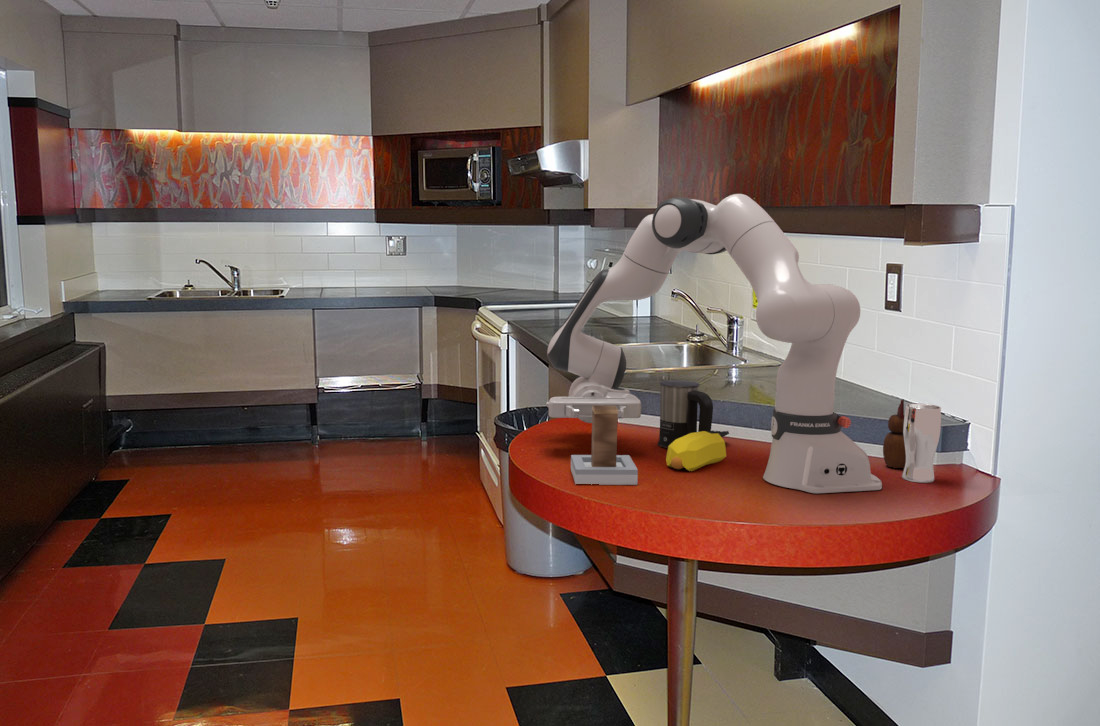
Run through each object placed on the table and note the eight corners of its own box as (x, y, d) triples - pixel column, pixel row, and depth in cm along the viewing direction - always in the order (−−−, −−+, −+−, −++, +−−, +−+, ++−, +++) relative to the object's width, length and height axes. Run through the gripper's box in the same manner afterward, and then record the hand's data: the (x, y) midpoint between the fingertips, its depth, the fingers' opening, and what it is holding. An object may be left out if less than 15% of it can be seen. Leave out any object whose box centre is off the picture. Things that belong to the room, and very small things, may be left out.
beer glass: (937, 477, 188) (942, 405, 186) (936, 485, 181) (941, 410, 179) (900, 473, 190) (905, 402, 188) (898, 480, 184) (903, 407, 182)
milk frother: (650, 446, 211) (652, 383, 209) (679, 435, 224) (681, 375, 222) (708, 455, 203) (710, 389, 201) (734, 443, 217) (737, 381, 215)
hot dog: (657, 469, 191) (690, 476, 186) (658, 438, 190) (691, 443, 185) (701, 454, 204) (732, 460, 200) (702, 425, 204) (734, 430, 199)
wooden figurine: (907, 472, 191) (912, 401, 189) (879, 468, 194) (883, 398, 192) (914, 465, 197) (919, 396, 195) (886, 461, 200) (890, 394, 198)
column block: (613, 464, 185) (615, 405, 184) (616, 469, 181) (618, 409, 179) (590, 464, 185) (592, 405, 183) (593, 469, 180) (594, 409, 179)
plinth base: (628, 469, 189) (629, 455, 189) (637, 484, 177) (637, 469, 177) (570, 469, 189) (571, 454, 188) (575, 484, 177) (575, 469, 176)
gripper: (545, 388, 206) (548, 399, 193) (635, 389, 208) (645, 399, 194) (545, 416, 207) (548, 428, 194) (635, 416, 208) (644, 429, 195)
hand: (597, 414), depth 194 cm, fingers open, 8 cm apart
